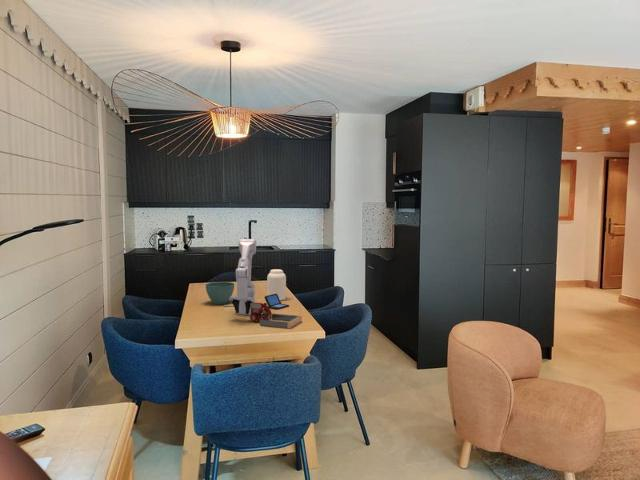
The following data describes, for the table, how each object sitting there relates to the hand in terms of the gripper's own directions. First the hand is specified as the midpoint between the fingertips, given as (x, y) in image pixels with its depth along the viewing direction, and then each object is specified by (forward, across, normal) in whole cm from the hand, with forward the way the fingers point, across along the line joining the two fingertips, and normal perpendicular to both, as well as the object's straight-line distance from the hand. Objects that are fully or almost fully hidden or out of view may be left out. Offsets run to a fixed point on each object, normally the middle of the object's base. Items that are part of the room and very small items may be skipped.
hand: (242, 313), depth 267 cm
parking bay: (+3, +23, 0) cm, 23 cm away
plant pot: (+4, -35, +34) cm, 49 cm away
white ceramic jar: (+4, -6, +58) cm, 58 cm away
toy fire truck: (+4, +11, 0) cm, 12 cm away
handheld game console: (+4, +4, +36) cm, 37 cm away
